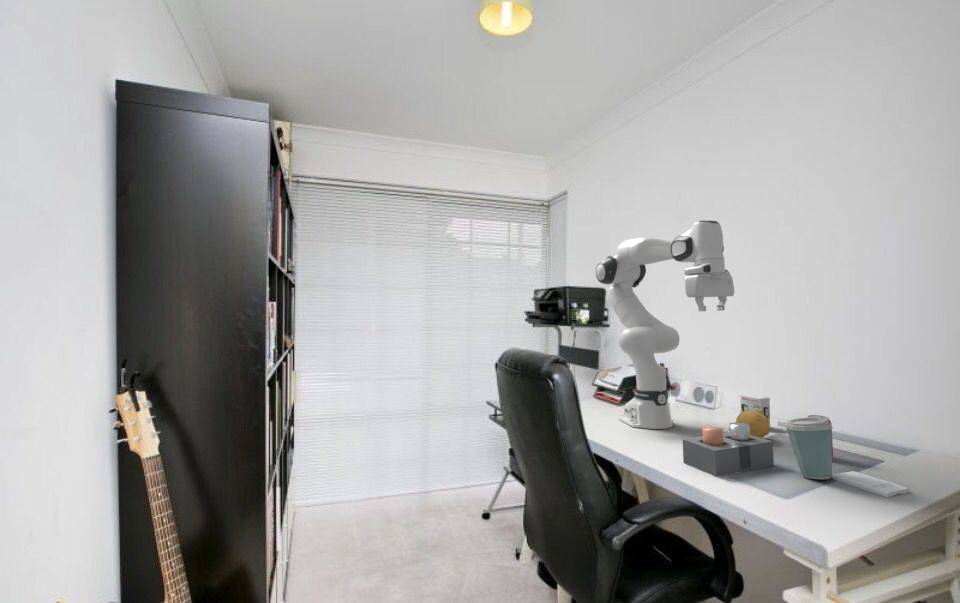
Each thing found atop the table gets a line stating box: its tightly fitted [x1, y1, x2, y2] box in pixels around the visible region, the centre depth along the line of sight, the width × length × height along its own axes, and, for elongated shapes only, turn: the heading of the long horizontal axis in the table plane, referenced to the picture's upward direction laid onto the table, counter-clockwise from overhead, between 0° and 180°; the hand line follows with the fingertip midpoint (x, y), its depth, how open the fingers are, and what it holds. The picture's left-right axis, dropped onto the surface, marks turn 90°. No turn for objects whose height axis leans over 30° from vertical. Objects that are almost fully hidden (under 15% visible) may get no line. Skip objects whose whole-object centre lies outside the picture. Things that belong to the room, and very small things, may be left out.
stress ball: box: [735, 410, 770, 439], centre depth 154 cm, size 10×10×10 cm
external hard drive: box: [831, 470, 911, 498], centre depth 113 cm, size 2×8×12 cm
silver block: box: [728, 421, 750, 442], centre depth 133 cm, size 5×5×7 cm
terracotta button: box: [702, 425, 724, 447], centre depth 130 cm, size 5×5×7 cm
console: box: [682, 431, 775, 477], centre depth 131 cm, size 12×21×7 cm, turn 108°
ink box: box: [740, 393, 771, 430], centre depth 168 cm, size 9×5×12 cm, turn 24°
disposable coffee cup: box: [784, 416, 833, 480], centre depth 120 cm, size 11×11×15 cm
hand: (711, 311), depth 146 cm, fingers open, 8 cm apart
